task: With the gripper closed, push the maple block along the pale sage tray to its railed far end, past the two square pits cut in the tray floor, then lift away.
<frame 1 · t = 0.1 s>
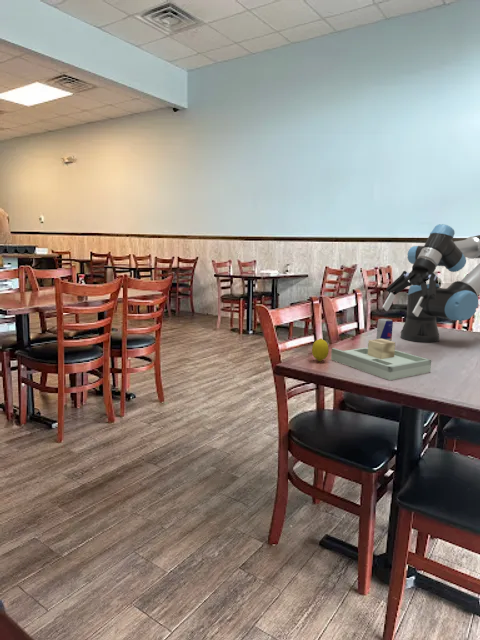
hand: (399, 311, 161), 15 cm above the table, tool tilted 35°, fingers open, 13 cm apart
energy drink: (383, 352, 166), on the table
sage tray: (378, 365, 147), on the table
lemon: (319, 362, 152), on the table
maple block: (380, 355, 150), point 2 cm above the table, touching sage tray
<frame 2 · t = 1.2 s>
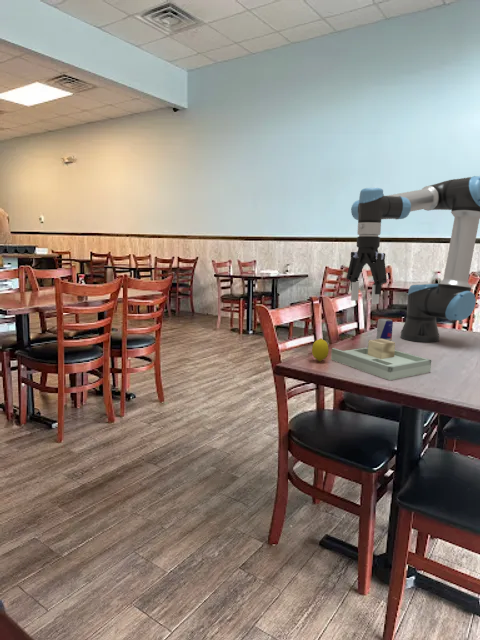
hand: (364, 302, 155), 20 cm above the table, tool pointing down, fingers open, 9 cm apart
nothing on the table moved.
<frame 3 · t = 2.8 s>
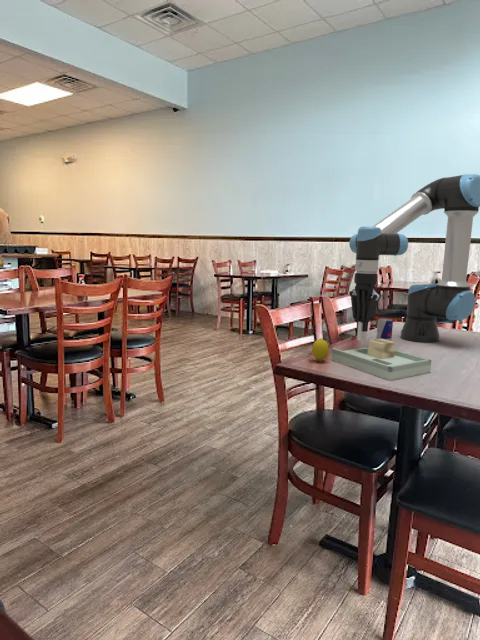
hand: (361, 339, 157), 6 cm above the table, tool pointing down, fingers closed
nothing on the table moved.
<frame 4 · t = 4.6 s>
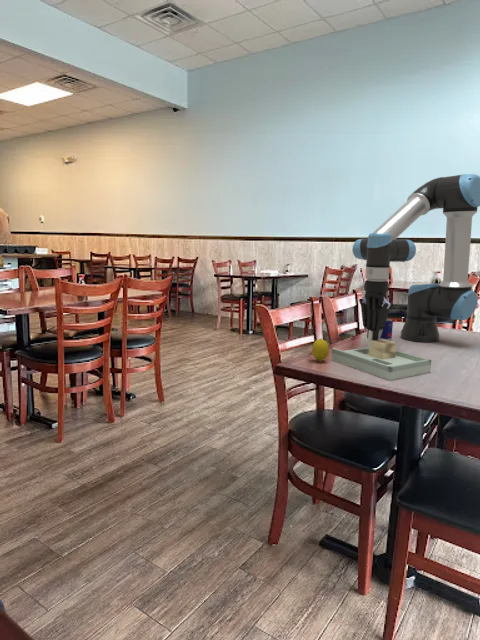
hand: (371, 348, 153), 4 cm above the table, tool pointing down, fingers closed
maple block: (382, 356, 150), point 3 cm above the table, touching gripper
everything else where it was.
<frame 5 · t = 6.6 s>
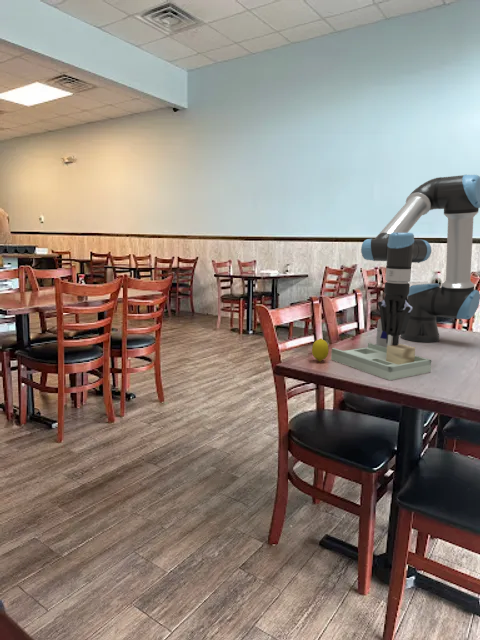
hand: (391, 354, 146), 4 cm above the table, tool pointing down, fingers closed
maple block: (399, 361, 143), point 2 cm above the table, touching gripper, sage tray
everything else where it was.
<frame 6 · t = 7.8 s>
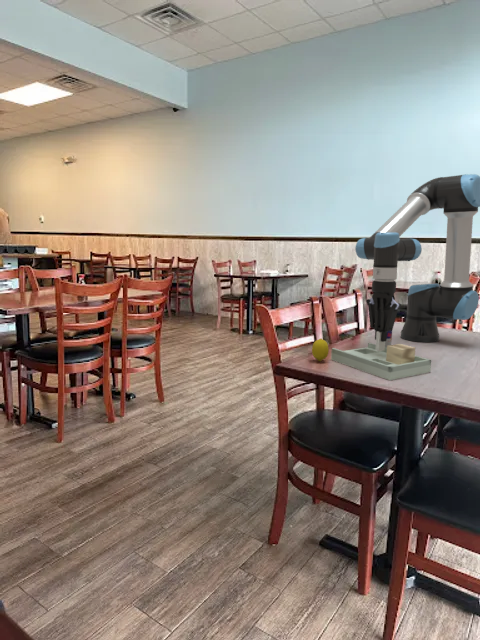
hand: (379, 350, 151), 4 cm above the table, tool pointing down, fingers closed
maple block: (399, 361, 143), point 2 cm above the table, touching sage tray
everything else where it was.
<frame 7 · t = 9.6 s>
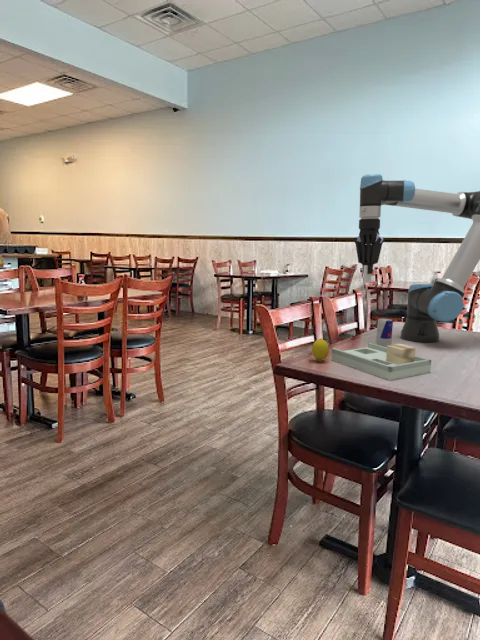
hand: (367, 282, 169), 25 cm above the table, tool pointing down, fingers closed
nothing on the table moved.
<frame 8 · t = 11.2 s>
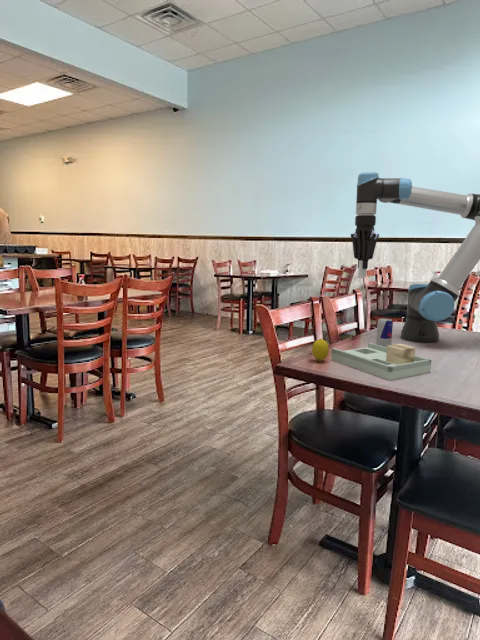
hand: (362, 277, 174), 26 cm above the table, tool pointing down, fingers closed
nothing on the table moved.
at the end: maple block inside the target area on the sage tray (1.8 cm from its centre), point 2.5 cm above the sage tray's base; maple block tilted 0° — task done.
